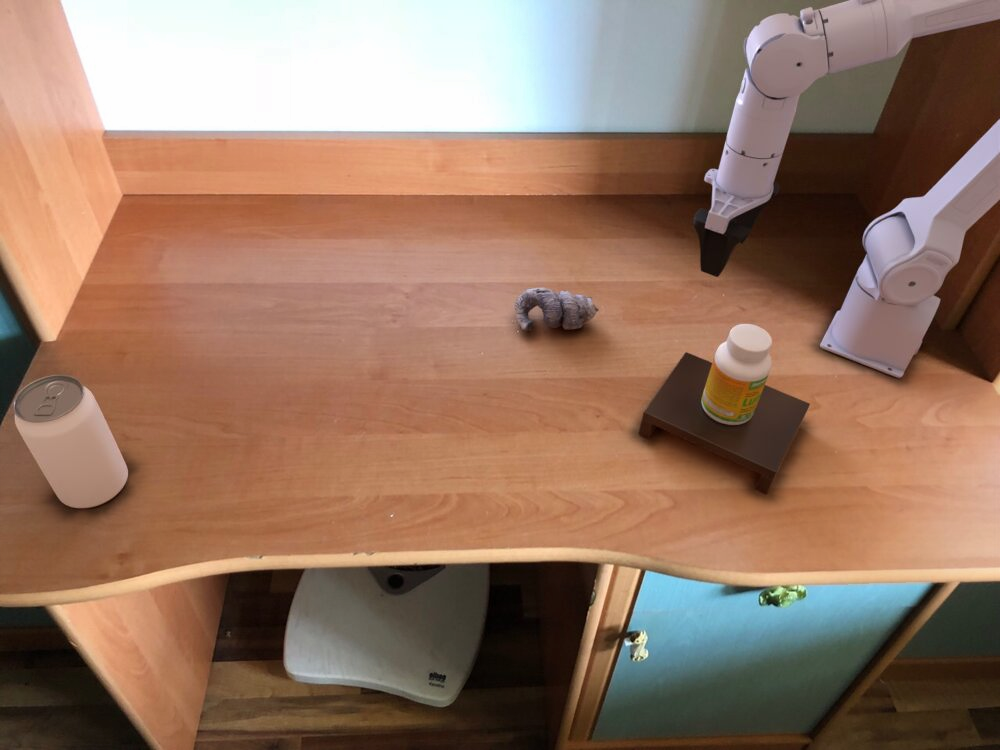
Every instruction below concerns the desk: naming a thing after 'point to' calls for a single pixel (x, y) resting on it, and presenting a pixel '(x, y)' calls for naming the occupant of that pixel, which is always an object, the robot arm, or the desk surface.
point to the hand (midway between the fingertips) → (723, 255)
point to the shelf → (745, 443)
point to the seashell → (555, 308)
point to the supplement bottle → (738, 375)
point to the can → (70, 440)
